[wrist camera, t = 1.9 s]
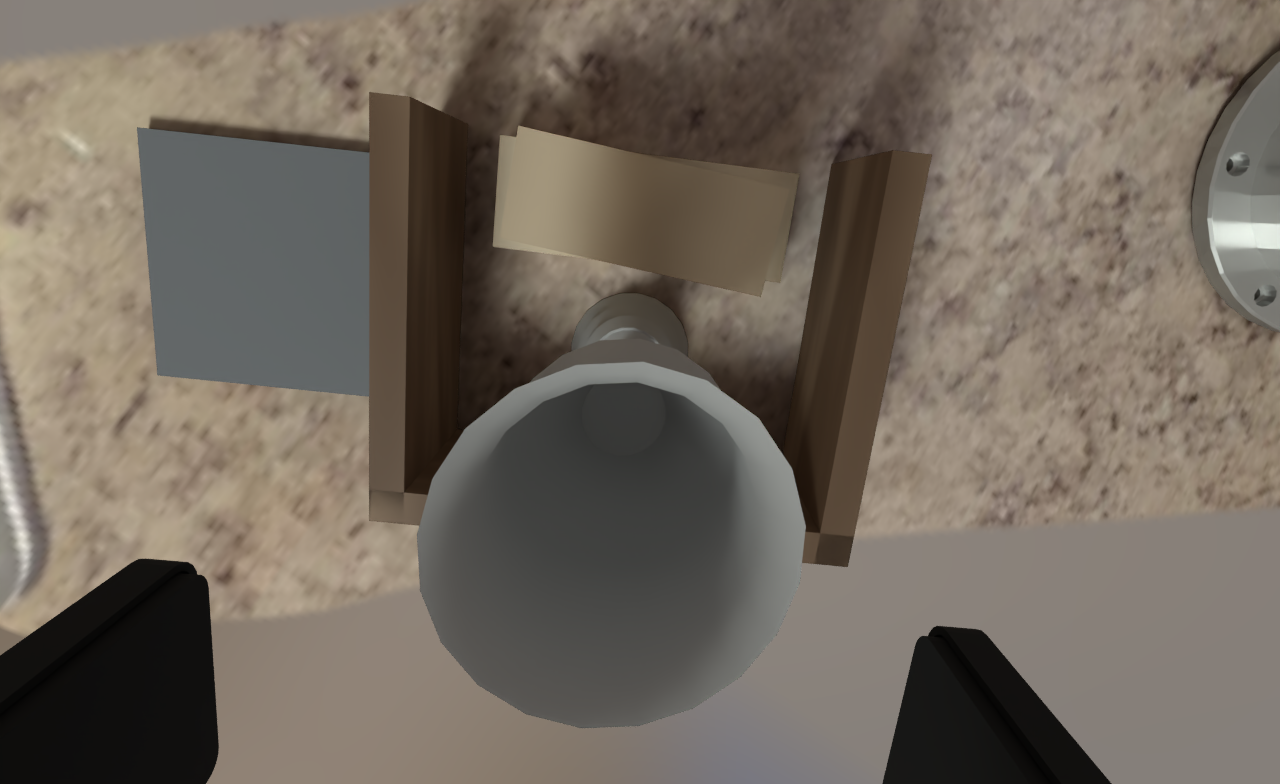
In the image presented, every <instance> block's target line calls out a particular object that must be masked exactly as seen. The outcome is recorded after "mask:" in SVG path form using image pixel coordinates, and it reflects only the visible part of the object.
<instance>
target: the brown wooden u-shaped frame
mask: <svg viewBox="0 0 1280 784" xmlns="http://www.w3.org/2000/svg"><path fill="white" fill-rule="evenodd" d="M467 139H468V124H467V123H464V122H462V121H460V120H458V119H456V118H454V117H452V116H450V115H447V114H445V113H443V112H441V111H439V110H437V109H435V108H433V107H431V106H428V105H426V104H424V103H422V102H420V101H418V100H416V99H414V98H411V97H408V96H399V95H390V94H381V93H372V92H369V521H377V522H388V523H398V524H408V525H419V526H420V522H421V519H422V515H423V511H424V508H425V504H426V500H427V497H428V493H429V489H430V486H431V482H432V479H433V477H434V476H435V474H436V473H437V471H438V470H439V468H440V466H441V465H442V463H443V462H444V460H445V459H446V457H447V456H448V454H449V453H450V451H451V450H452V448H453V447H454V445H455V444H456V442H457V441H458V439H459V438H460V436H461V435H462V433H463V431H464V430H460V429H457V417H458V389H459V362H460V334H461V306H462V278H463V250H464V222H465V194H466V167H467ZM931 157H932V155H931V154H922V153H913V152H904V151H895V150H892V151H888V152H883V153H879V154H874V155H870V156H866V157H861V158H857V159H852V160H848V161H844V162H839V163H835V164H832V165H831V171H830V177H829V183H828V189H827V194H826V200H825V206H824V212H823V218H822V224H821V230H820V236H819V242H818V248H817V254H816V260H815V266H814V272H813V277H812V283H811V289H810V295H809V301H808V307H807V313H806V319H805V325H804V331H803V337H802V343H801V349H800V354H799V360H798V366H797V372H796V378H795V384H794V390H793V396H792V402H791V408H790V414H789V420H788V426H787V432H786V437H785V443H784V449H783V456H784V457H785V459H786V460H787V462H788V463H789V465H790V466H791V468H792V470H793V474H794V478H795V483H796V487H797V491H798V495H799V500H800V504H801V508H802V512H803V517H804V521H805V525H806V529H805V538H804V548H803V557H802V563H811V564H822V565H832V566H842V567H848V563H849V558H850V553H851V548H852V543H853V539H854V534H855V529H856V524H857V519H858V514H859V509H860V504H861V499H862V495H863V490H864V485H865V480H866V475H867V470H868V465H869V460H870V455H871V451H872V446H873V441H874V436H875V431H876V426H877V421H878V416H879V411H880V407H881V402H882V397H883V392H884V387H885V382H886V377H887V372H888V367H889V363H890V358H891V353H892V348H893V343H894V338H895V333H896V328H897V323H898V319H899V314H900V309H901V304H902V299H903V294H904V289H905V284H906V279H907V275H908V270H909V265H910V260H911V255H912V250H913V245H914V240H915V235H916V231H917V226H918V221H919V216H920V211H921V206H922V201H923V196H924V191H925V187H926V182H927V177H928V172H929V167H930V162H931Z"/></svg>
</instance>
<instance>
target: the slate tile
mask: <svg viewBox="0 0 1280 784" xmlns="http://www.w3.org/2000/svg"><path fill="white" fill-rule="evenodd" d="M137 133H138V145H139V158H140V170H141V182H142V194H143V206H144V218H145V230H146V242H147V254H148V266H149V278H150V290H151V302H152V314H153V326H154V338H155V350H156V363H157V375H161V376H171V377H180V378H190V379H200V380H210V381H220V382H230V383H240V384H250V385H260V386H270V387H280V388H290V389H299V390H309V391H319V392H329V393H339V394H349V395H359V396H369V153H368V152H359V151H349V150H340V149H331V148H322V147H313V146H303V145H294V144H285V143H276V142H267V141H258V140H248V139H239V138H230V137H221V136H212V135H202V134H193V133H184V132H175V131H166V130H156V129H147V128H138V127H137Z"/></svg>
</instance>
